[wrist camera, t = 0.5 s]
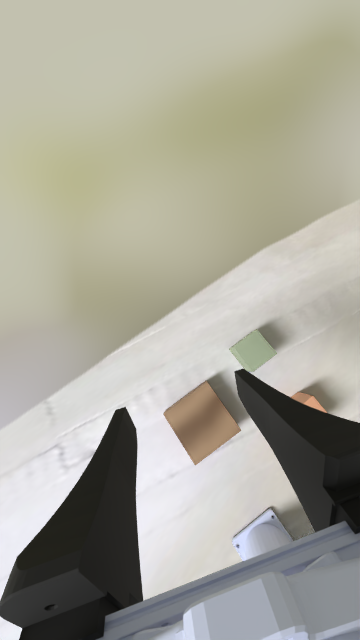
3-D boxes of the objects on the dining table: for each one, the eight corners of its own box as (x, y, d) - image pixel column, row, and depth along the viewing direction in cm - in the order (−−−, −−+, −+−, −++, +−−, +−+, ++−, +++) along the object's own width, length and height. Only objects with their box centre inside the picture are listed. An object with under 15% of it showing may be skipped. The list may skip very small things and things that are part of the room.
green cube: (267, 355, 39) (277, 353, 34) (246, 371, 38) (253, 371, 33) (249, 333, 40) (256, 329, 35) (228, 349, 39) (233, 346, 35)
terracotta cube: (318, 416, 36) (337, 424, 31) (295, 434, 35) (311, 445, 31) (297, 391, 37) (312, 395, 32) (275, 409, 37) (287, 415, 32)
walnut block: (236, 423, 37) (241, 430, 33) (195, 454, 36) (195, 465, 32) (206, 380, 39) (207, 381, 35) (166, 409, 38) (163, 414, 34)
